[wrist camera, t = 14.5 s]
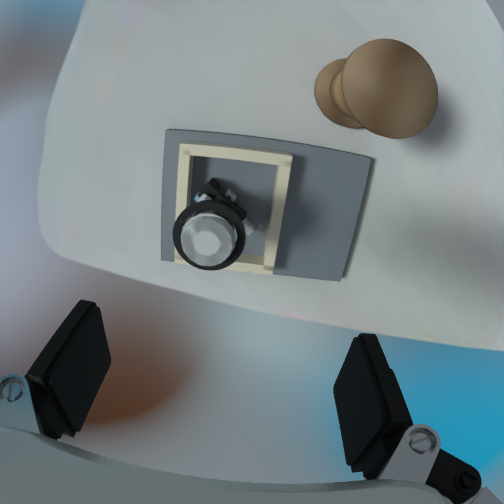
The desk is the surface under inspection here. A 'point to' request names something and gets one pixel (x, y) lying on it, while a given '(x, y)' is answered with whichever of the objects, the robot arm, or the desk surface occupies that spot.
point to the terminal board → (270, 198)
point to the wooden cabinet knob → (379, 90)
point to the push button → (211, 229)
